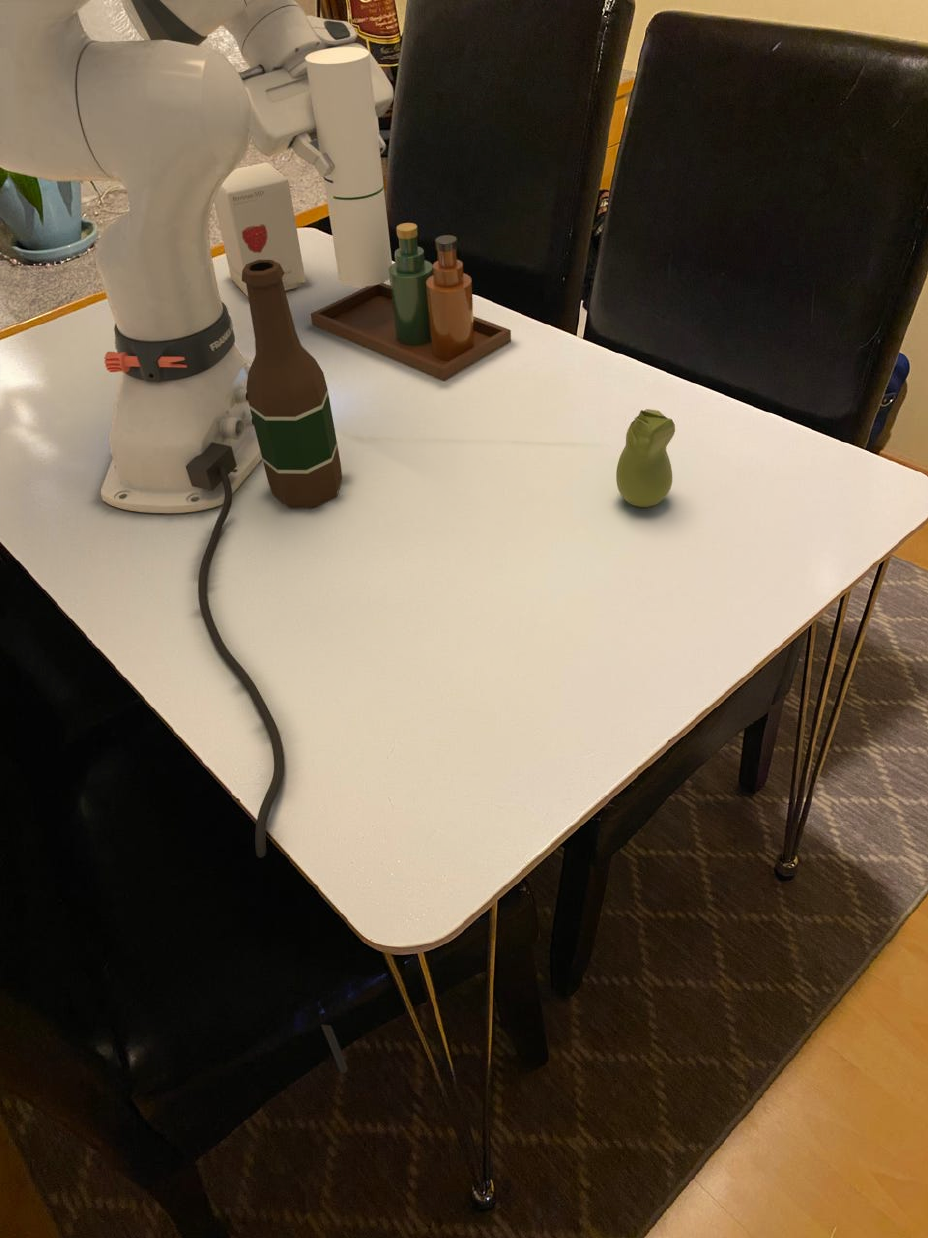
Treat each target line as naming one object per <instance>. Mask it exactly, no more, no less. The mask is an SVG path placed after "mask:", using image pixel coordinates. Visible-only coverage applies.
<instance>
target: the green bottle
mask: <svg viewBox="0 0 928 1238" xmlns="http://www.w3.org/2000/svg"><path fill="white" fill-rule="evenodd" d="M418 231H419V230H418V225H417V224H416V223H414V222H405V223H400V224H398V225H397V226H396V236H397V238H398V245H399V248H397V249H395V251H394V261H395V262H394V263H392V265H391V266H390V267H389V278H390V279H389V285H390V287H391V296H392V305H393V314H394V323H395V332H396V338H397V340H398V341H399V342H400V343H402V344H405V345H413V346H414V345H423V344H427V343H430V342H431V336H430V324H429V312H428V300H427V288H426V281H427V279H428V278H429V277H431V276H433V264H432V263H431V261H428V260H425V250H424V249H423V247H421V246H419V245H418V234H419V232H418Z"/></svg>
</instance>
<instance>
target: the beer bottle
mask: <svg viewBox="0 0 928 1238" xmlns="http://www.w3.org/2000/svg"><path fill="white" fill-rule="evenodd" d="M283 275H284V271H283V269H282V267H281V265H280V264H279V263H277V262H275V261H273V260H257V261H254V262H251V263H248V264H246V265H245V267H244V269H243V270H242V281H243V282H244V283H246V285H247V292H248V297H247V298H248V303H249V310H250V316H251V322H252V327H253V328H252V329H253V335H254V344H255V346H254V347H255V356H254V358H253V360H252V362H251V367H250V370H249V372H248V379H247V386H246V389H247V396H248V402H249V407H250V411H251V415H252V419H253V423H254V427H255V431H256V435H257V439H258V443H259V447H260V451H261V455H262V459H261V460H262V463H263V467H264V471H265V475H266V479H267V483H268V486H269V489H270V492H271V494H272V495H273V496H274V497H275V498H276V499H277V500H278V501H280V502H281V503H282V504H284V505H285V506H286V507H287V508H290V509H291V508H293V509H295V508H297V509H299V508H300V509H301V508H302V509H309V508H310V509H315V508H316V507H319V506H321V505H323V504H324V503H327V502H329V501H331V500H333V499H335V498H337V496H338V494H339V490H340V487H341V483H342V480H343V474H342V473H343V472H342V463H341V457H340V451H339V446H338V439H337V436H336V429H335V423H334V418H333V413H332V412H333V411H332V406H331V401H330V395H329V389H328V385H327V381H326V378H325V373H324V371H323V369H321V366H320V365H319V363H318V361H317V360H316V358H315V357H314V356H313V355H311V353H310V352H308V351H307V350H306V349H305V347H303V346H302V344H301V342H300V338H299V336H298V334H297V330H296V326H295V323H294V320H293V316H292V312H291V308H290V304H289V299H288V297H287V291H285V289H284V285H283V281H282V277H283Z"/></svg>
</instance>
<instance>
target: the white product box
mask: <svg viewBox="0 0 928 1238" xmlns="http://www.w3.org/2000/svg"><path fill="white" fill-rule="evenodd" d="M291 193H292V192H291V188H290V182H289V179H288V178H287V177H286V176H285V175H284V174H282V173H281V172H279V171H278V170H277V169H276V168H275V167H274V166H272V164H270V163H269V162H268V161H267V162H261V163H257V164H252V165H248V166H242V167H237V168H236V169H235V170H233V171H232V172H231V173H230V175H229V176H228V177H227V178H226V179H225V181H224V182H223V184H222V185H221V187H220V188H219V190H218V192H217V194H216V197H215V199H214V202H213V205H214V208H215V213H216V217H217V221H218V227H219V231H220V235H221V239H222V243H223V248H224V253H225V257H226V262H227V266H228V270H229V275H230V278H231V280H232V281H233V282H234V283H235V285H236V286H237V287H238V288H239V289H240V290H241V292H243V294H244V295H245V296H246V297H247V298H248V292H247V285H246V283H244V282H243V281H242V270H243V269H244V267H245V265H246V264H248V263H251V262H254V261H257V260H273V261H275V262H277V263H279V264H280V265H281V267H282V269H283V271H284V275H283V277H282V281H283V285H284V289H285V292H287V291H290V290H294V289H297V288H299V287H300V285H301V284H304V283H307V281H306V275H305V268H304V263H303V258H302V252H301V246H300V240H299V233H298V229H297V223H296V217H295V212H294V205H293V200H292V199H293V198H292V194H291Z"/></svg>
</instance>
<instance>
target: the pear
mask: <svg viewBox="0 0 928 1238" xmlns="http://www.w3.org/2000/svg"><path fill="white" fill-rule="evenodd" d="M675 432H676V424H675V423H674V421H673V419H672V418H669V417H667V416H665V415H664V414H663V413H662V412H661V411H660V410H656V409H650V408H646V409H644V410H642V409H641V410H640V411H639V413H638V415H637V416H636V417H634V420H633V421H632V422H631V423H630V425H629V427H628V428H627V431H626V435H625V445H624V447H623V449H622V451H621V453H620V455H619V458H618V462H617V465H616V473H615V480H616V481H615V482H616V486H617V490H618V492H619V494H620V495H621V497H622V498H623V499H624V500H625V501H626V502H627V503H629V504H630V505H633V506H636V507H639V508H648V507H649V508H650V507H653V506H656V505H657V504H659V503H661V502H662V501H663V500H664V499H666V497H667V496H668V494H669V493H670V490H671V488H672V484H673V469H672V465H671V460H670V458H669V457H670V456H669V454H668V452H667V447H668V445H669V443H670V442H671V441H672V439H673V437H674V435H675V434H676V433H675Z"/></svg>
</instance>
